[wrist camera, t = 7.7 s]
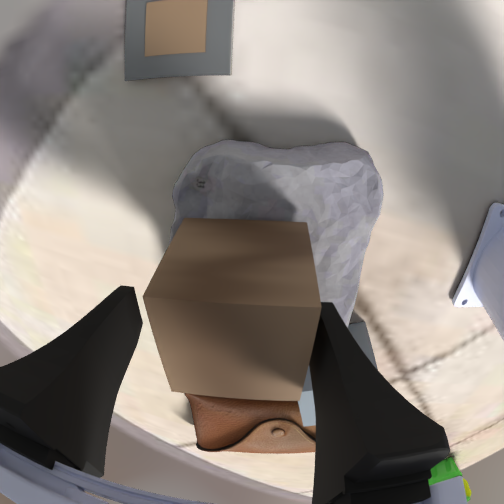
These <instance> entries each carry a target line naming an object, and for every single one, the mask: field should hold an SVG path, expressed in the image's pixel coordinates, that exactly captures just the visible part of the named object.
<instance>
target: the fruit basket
mask: <svg viewBox="0 0 504 504" xmlns="http://www.w3.org/2000/svg"><path fill="white" fill-rule="evenodd" d="M431 474H432V477H431V478H430V479H428V482H429V486H430V485H433V484H435V483H438V482H441V481H445V480H448V479H451V478H454V477H458V476H462V473H461V472H460V471H459V469H458V467H457V466H456V464H455V462H454V460H453V459H452V457H450V458H448V459H445V460H443V461H441V462H440V463H438V464H437V465H436V466H434V467H433V468H431ZM463 483H464V488H465V493H466V499H467V502H468V501H469V500H470V496H471V490H470V488H469V485H468V482H467V481H466V480H465V479H463Z"/></svg>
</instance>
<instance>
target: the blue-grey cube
mask: <svg viewBox="0 0 504 504" xmlns="http://www.w3.org/2000/svg"><path fill="white" fill-rule="evenodd" d="M348 329H349V331H350V332H351V334H352V336H353V337H354V339H355V340H356V342H357V343H358V345H359V346H360V348H361V349H362V350H363V352H364V353H365V355H366V356H367V357H368V359H369V360H370V361H371V363H372V364H373V365H374V366H375V368H376V369H377V365H376V361H375V357H374V353H373V349H372V345H371V342H370V338H369V334H368V330H367V327H366V323H365V322H360V323H354V324H349V325H348ZM377 370H378V369H377ZM298 404H299V408H300V413H301V417H302V422H303V426H304V427H305V426H314V425H316V416H315V405H314V397H313V390H312V382H311V375H310V367H309V366H308V370H307V374H306V378H305V382H304V386H303V390H302V394H301V398H300V401H298Z"/></svg>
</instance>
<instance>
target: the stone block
mask: <svg viewBox="0 0 504 504" xmlns="http://www.w3.org/2000/svg"><path fill="white" fill-rule="evenodd" d="M172 197H173V200H174V204H175V208H176V213H175V218H174V221H173V224H172V226H171V235H170V242H169V245H170V243H171V241H172V239H173V237H174V236H175V234H176V232H177V230H178V228H179V226H180V225H181V223H182V221H183V219H184V218H212V219H243V220H268V221H290V222H307V225H308V230H309V236H310V241H311V247H312V252H313V258H314V264H315V270H316V275H317V282H318V288H319V294H320V300H321V302H332V303H333V304H334V305H335V307H336V309H337V311H338V312H339V314H340V316H341V318H342V319H343V321H344V323H345V324H346V326H347V328H348V325H349V321H350V318H351V314H352V311H353V308H354V304H355V300H356V296H357V292H358V286H359V280H360V274H361V269H362V264H363V259H364V255H365V251H366V248H367V246H368V243H369V240H370V234H371V231H372V229H373V227H374V225H375V223H376V221H377V219H378V217H379V215H380V211H381V206H382V201H383V186H382V180H381V177H380V175H379V173H378V171H377V169H376V168H375V166H374V163H373V160H372V158H371V156H370V155H369V153H368V152H367V151H365V150H363V149H361V148H359V147H356V146H353V145H351V144H349V143H347V142H330V143H325V144H318V145H314V146H297V147H293V148H291V149H274V148H270V147H266V146H264V145H261V144H258V143H255V142H246V141H235V140H222V141H219V142H217V143H215V144H213V145H209V146H205V147H204V148H202V149H200V150H199V151H198V152H196V153H195V154H194V155H193V156H192V158H191V159H190V161H189V162H188V164H187V165H186V167H185V168H184V169H183V171H182V173H181V175H180V177H179V179H178V181H177V182H176V183H175V185H174V189H173V195H172Z"/></svg>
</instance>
